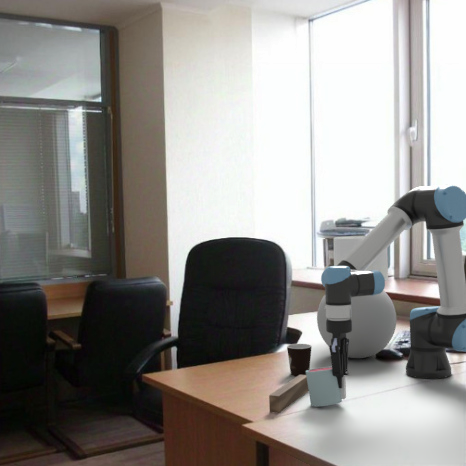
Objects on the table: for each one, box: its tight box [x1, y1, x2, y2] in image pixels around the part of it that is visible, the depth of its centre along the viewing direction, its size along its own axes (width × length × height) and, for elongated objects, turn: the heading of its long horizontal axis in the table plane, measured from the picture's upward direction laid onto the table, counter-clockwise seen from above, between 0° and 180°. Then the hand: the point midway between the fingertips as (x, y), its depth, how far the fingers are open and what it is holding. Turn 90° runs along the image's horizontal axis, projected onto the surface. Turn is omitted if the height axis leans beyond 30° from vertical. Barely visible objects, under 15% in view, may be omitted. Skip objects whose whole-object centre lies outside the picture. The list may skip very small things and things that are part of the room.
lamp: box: [333, 235, 389, 281], centre depth 307 cm, size 23×23×44 cm
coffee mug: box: [286, 343, 312, 377], centre depth 251 cm, size 12×9×10 cm
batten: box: [268, 375, 309, 414], centre depth 217 cm, size 3×26×5 cm, turn 155°
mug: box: [306, 366, 343, 407], centre depth 213 cm, size 14×9×10 cm
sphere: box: [316, 289, 397, 359], centre depth 274 cm, size 30×30×30 cm
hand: (340, 397), depth 211 cm, fingers closed
